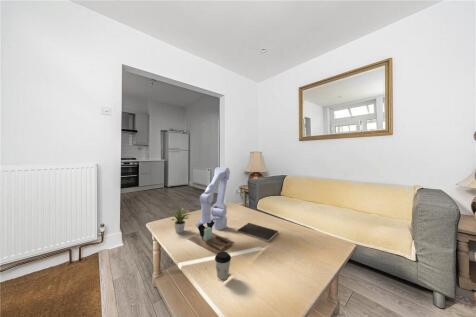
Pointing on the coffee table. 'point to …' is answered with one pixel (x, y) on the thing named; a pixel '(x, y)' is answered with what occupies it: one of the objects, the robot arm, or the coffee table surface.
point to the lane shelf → (212, 243)
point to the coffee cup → (222, 265)
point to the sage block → (206, 234)
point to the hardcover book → (258, 232)
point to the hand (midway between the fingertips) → (205, 234)
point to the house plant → (180, 221)
